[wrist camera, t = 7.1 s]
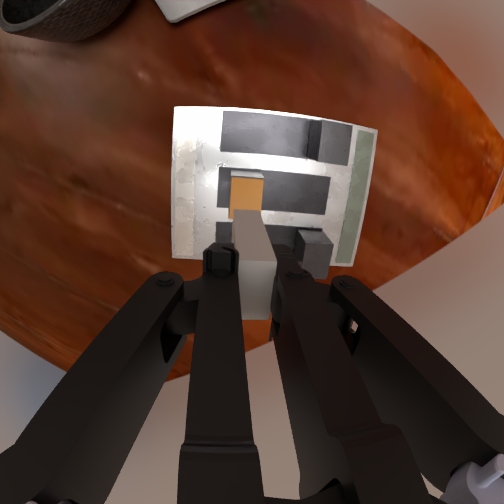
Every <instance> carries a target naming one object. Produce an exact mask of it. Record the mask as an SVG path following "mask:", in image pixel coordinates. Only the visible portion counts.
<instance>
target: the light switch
mask: <svg viewBox="0 0 504 504" xmlns="http://www.w3.org/2000/svg"><path fill="white" fill-rule="evenodd" d="M155 1H156V3H157V4H158V6H159V8H160V9H161V11H162V12H163V14H164V15H165V17H166V19H167V20H168V21H169V22H170V23H176V22H178V21H180V20H182V19H184V18H186V17H188V16H191V15H193V14H195V13H197V12H199V11H201V10H204V9H206V8H208V7H211V6H213V5H215V4H218V3H220V2H223V1H225V0H155Z"/></svg>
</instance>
